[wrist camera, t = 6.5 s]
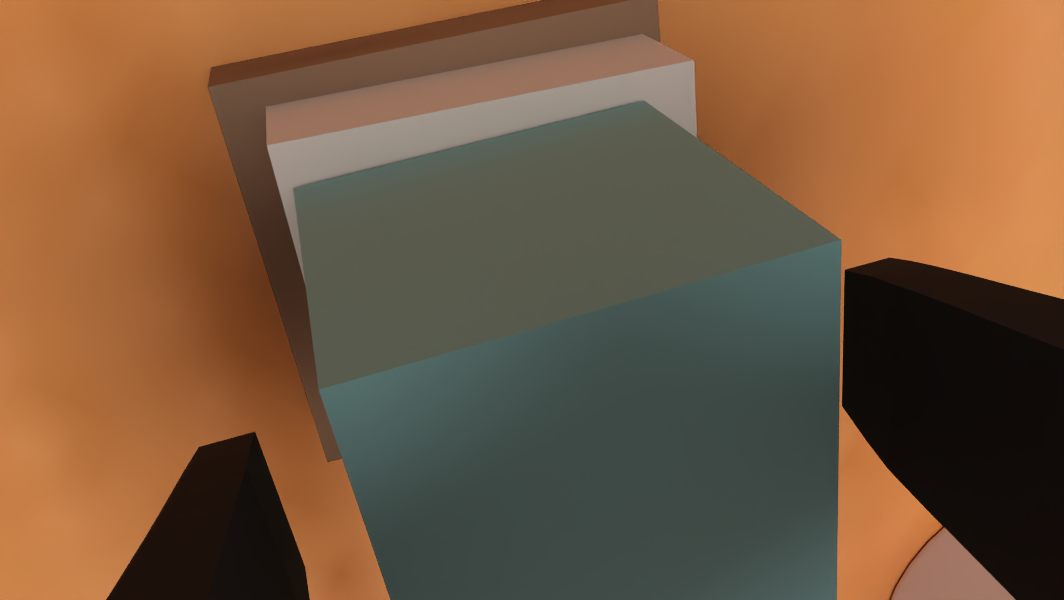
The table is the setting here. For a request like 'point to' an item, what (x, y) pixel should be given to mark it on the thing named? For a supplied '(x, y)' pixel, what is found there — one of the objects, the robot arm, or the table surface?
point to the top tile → (469, 109)
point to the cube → (580, 367)
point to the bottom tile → (250, 86)
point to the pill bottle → (947, 574)
